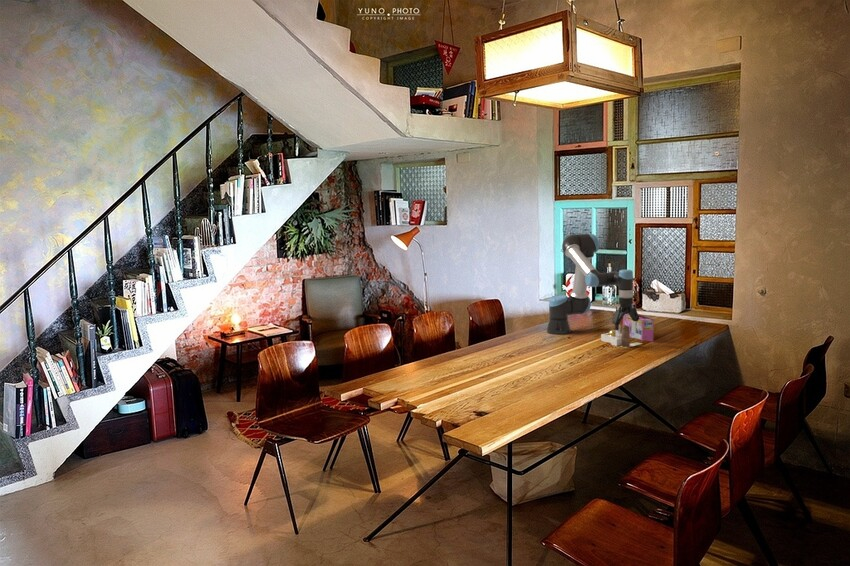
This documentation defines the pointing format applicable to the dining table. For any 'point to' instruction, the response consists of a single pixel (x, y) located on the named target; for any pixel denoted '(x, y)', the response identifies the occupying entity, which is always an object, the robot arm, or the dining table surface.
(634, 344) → the board
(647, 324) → the gum box
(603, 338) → the dome collar
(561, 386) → the dining table surface
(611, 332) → the dome
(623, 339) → the brown rounded rod
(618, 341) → the die
